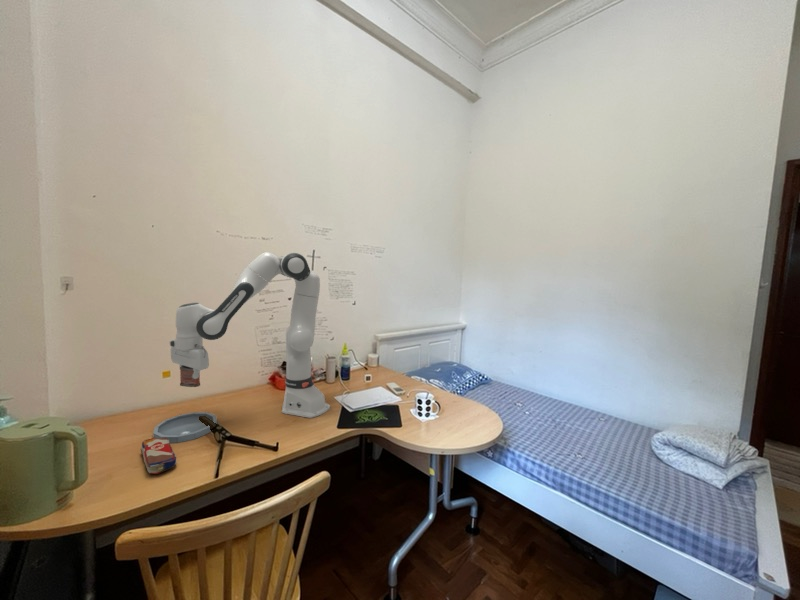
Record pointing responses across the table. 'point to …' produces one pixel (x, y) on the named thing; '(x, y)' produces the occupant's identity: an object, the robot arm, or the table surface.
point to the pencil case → (158, 455)
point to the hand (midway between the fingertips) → (190, 376)
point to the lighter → (188, 377)
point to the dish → (183, 427)
